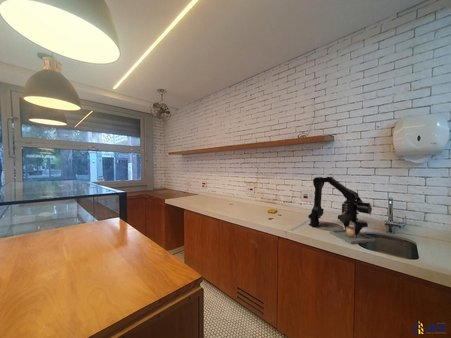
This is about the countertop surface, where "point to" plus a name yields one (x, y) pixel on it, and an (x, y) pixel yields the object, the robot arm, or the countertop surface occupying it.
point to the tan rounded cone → (350, 232)
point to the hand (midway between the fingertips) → (351, 233)
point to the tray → (360, 238)
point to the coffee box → (344, 208)
